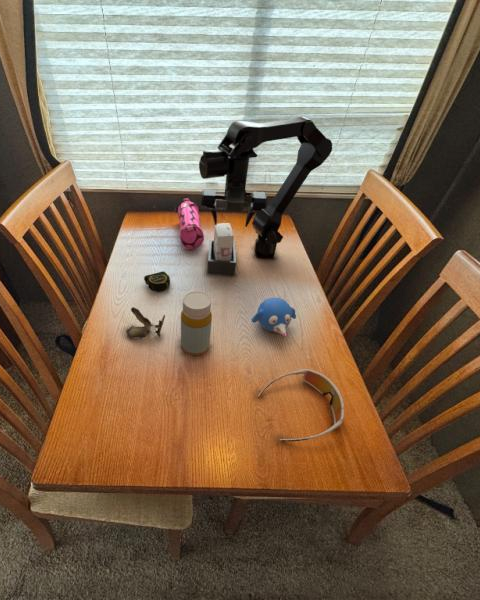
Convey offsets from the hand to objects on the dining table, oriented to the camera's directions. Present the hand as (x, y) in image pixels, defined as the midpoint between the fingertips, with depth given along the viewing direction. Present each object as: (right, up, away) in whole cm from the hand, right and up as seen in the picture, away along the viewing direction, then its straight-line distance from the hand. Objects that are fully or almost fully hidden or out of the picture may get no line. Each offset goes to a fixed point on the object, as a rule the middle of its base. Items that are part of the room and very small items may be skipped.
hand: (230, 225), depth 99 cm
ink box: (-2, -10, +7) cm, 13 cm away
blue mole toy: (+9, -31, -15) cm, 36 cm away
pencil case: (-13, +1, +21) cm, 24 cm away
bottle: (-11, -34, -19) cm, 41 cm away
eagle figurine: (-24, -31, -17) cm, 43 cm away
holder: (-2, -11, +7) cm, 13 cm away
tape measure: (-22, -19, -2) cm, 29 cm away
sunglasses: (+11, -46, -32) cm, 57 cm away
